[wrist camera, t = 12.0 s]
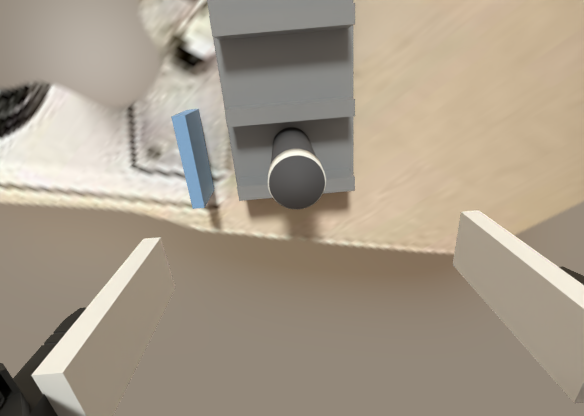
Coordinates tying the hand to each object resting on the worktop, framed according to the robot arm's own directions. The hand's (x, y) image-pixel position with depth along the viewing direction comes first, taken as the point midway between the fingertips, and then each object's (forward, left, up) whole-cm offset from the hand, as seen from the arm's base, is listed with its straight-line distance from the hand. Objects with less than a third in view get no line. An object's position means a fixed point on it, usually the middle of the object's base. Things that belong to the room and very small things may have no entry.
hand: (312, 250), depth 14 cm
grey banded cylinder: (0, 0, -21) cm, 21 cm away
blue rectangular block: (+10, 0, -22) cm, 24 cm away
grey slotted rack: (0, -7, -22) cm, 23 cm away
